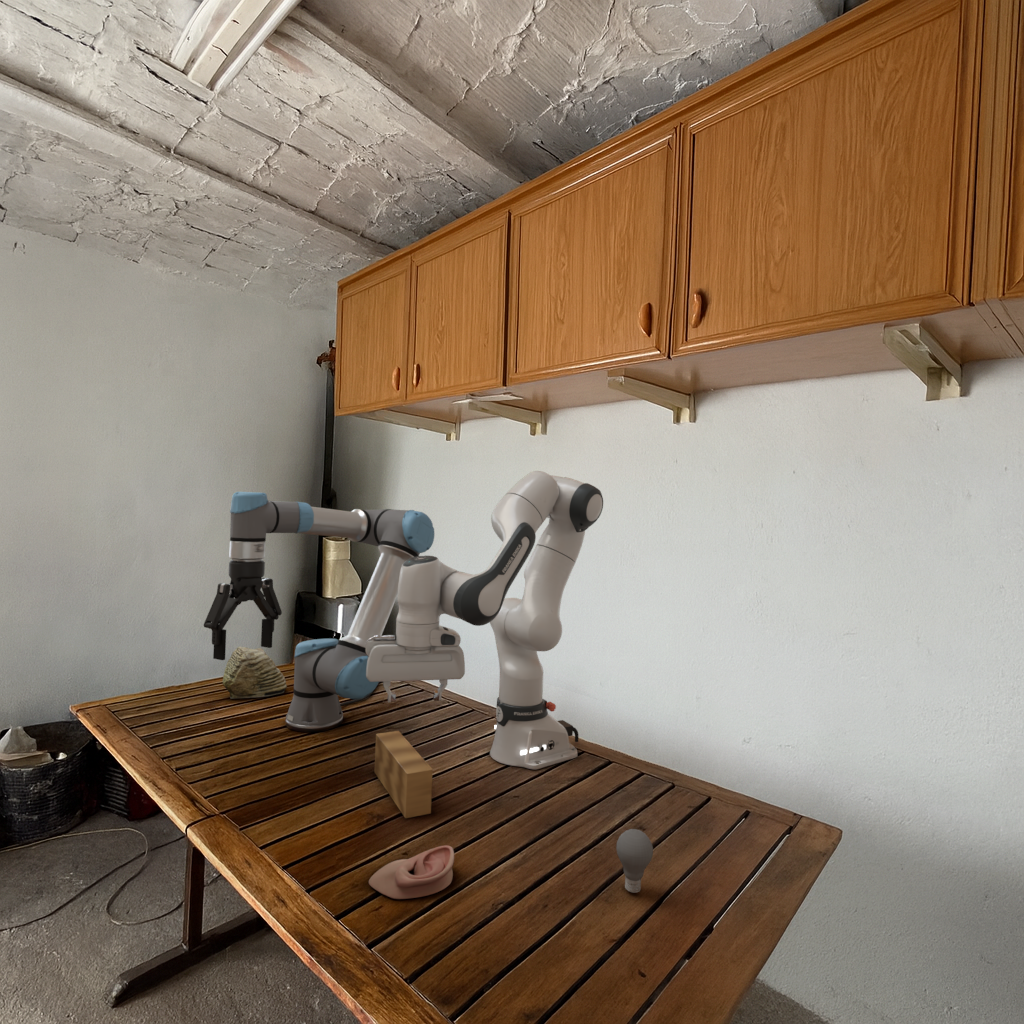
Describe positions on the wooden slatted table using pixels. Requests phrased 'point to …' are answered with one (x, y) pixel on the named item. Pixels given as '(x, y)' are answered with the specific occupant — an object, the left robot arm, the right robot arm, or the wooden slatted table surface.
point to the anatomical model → (416, 874)
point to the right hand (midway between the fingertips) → (414, 700)
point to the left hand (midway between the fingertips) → (243, 652)
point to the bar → (403, 774)
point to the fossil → (252, 674)
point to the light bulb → (634, 857)
